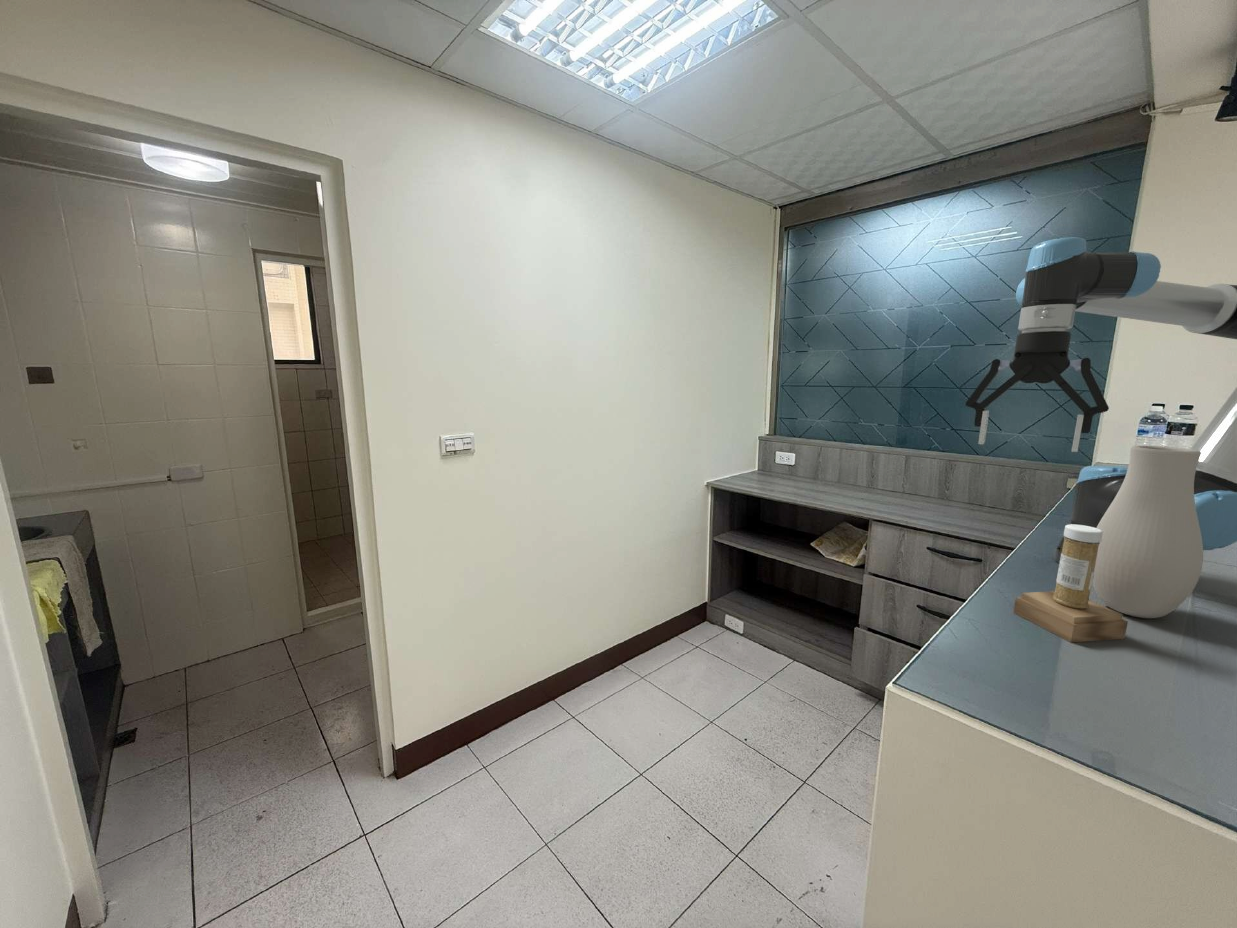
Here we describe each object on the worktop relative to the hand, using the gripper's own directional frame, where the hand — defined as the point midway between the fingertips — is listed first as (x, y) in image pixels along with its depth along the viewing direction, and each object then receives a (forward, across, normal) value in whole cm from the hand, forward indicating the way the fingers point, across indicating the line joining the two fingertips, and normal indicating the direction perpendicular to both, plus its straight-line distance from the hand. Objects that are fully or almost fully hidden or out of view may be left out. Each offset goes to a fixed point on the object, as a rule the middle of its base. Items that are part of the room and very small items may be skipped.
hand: (1025, 447), depth 92 cm
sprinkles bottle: (+25, +9, -11) cm, 29 cm away
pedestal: (+29, +9, -10) cm, 32 cm away
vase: (+29, +18, +4) cm, 34 cm away
